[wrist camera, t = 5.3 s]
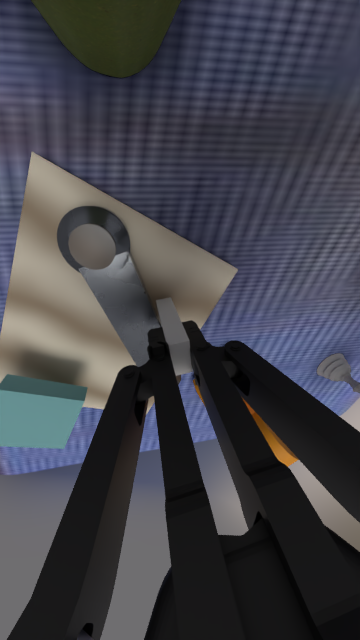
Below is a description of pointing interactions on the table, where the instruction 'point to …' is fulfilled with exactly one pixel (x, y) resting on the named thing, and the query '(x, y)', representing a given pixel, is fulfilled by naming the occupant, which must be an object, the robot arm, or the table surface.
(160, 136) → the table surface
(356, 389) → the chalice
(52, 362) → the base board
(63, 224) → the link
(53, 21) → the plant pot
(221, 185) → the table surface
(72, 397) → the block
